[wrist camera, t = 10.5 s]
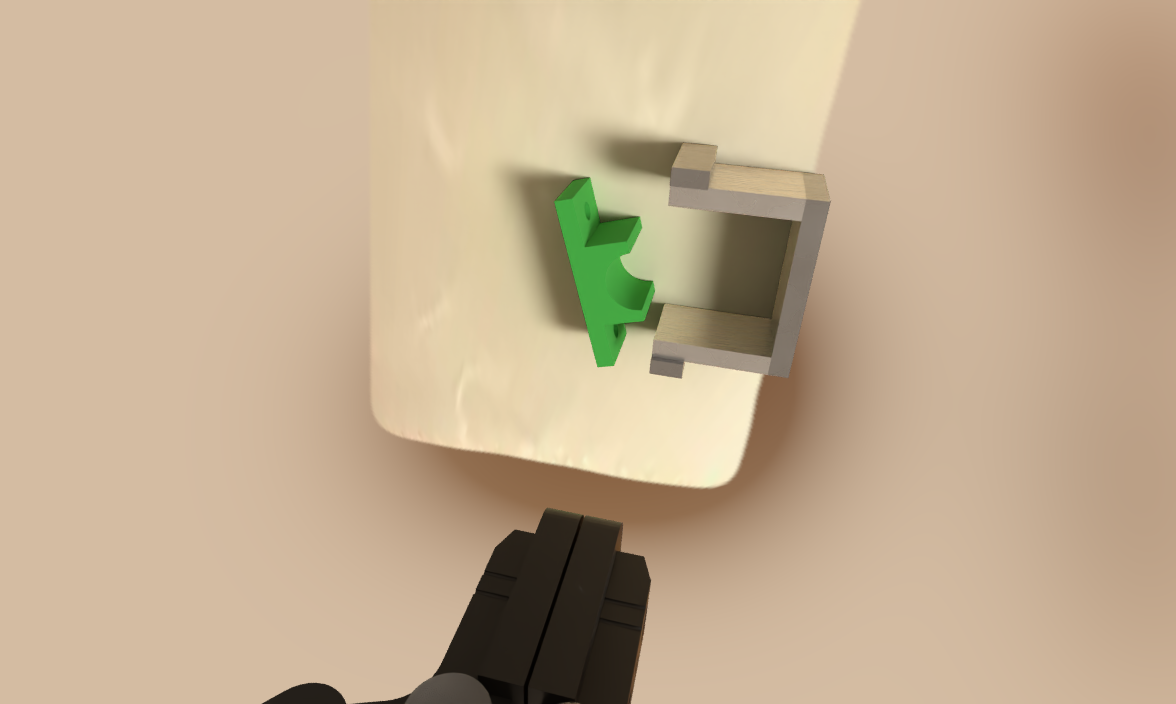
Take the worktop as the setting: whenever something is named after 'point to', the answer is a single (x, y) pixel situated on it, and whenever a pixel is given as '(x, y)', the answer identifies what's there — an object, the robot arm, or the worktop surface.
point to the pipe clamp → (602, 269)
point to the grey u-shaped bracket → (775, 339)
